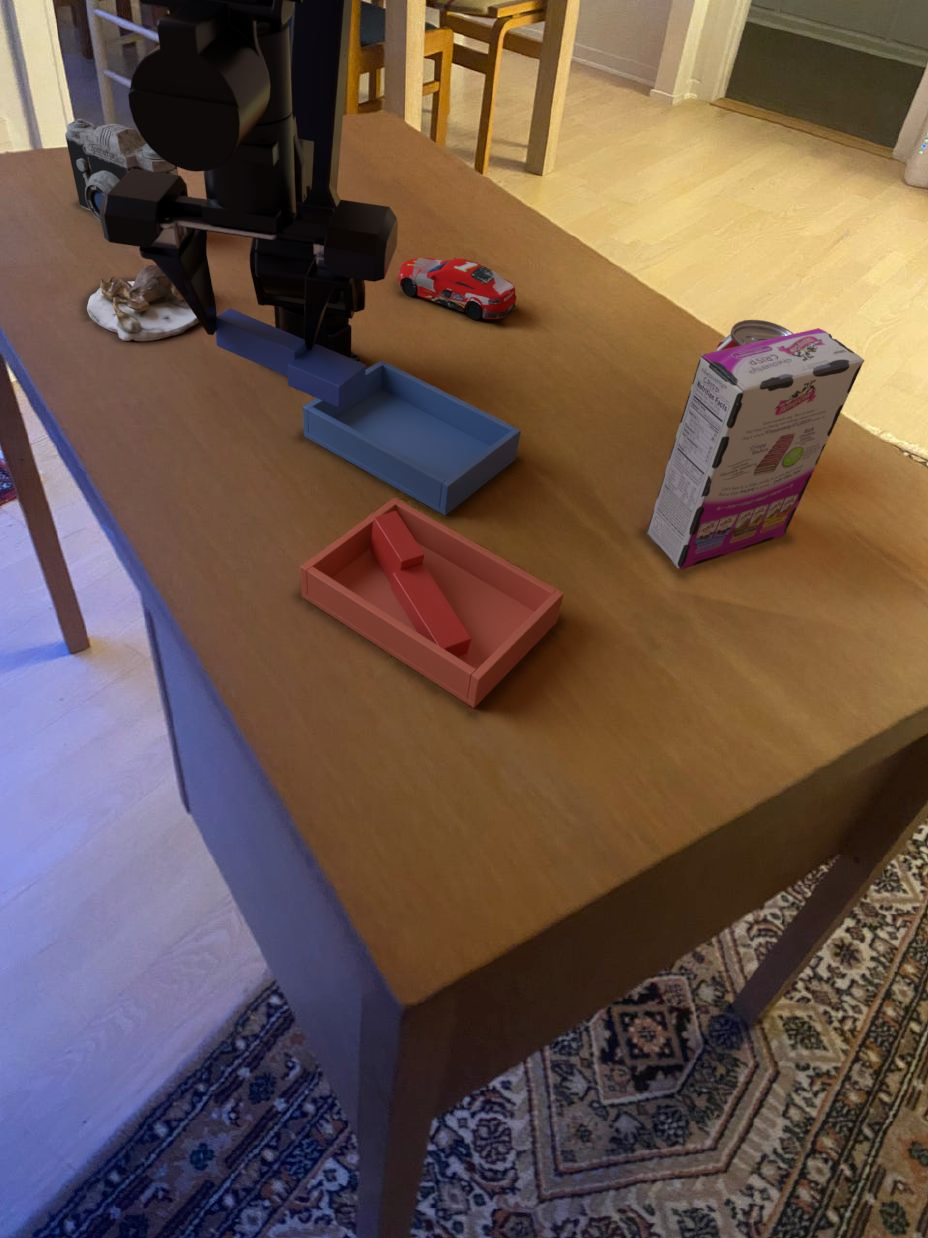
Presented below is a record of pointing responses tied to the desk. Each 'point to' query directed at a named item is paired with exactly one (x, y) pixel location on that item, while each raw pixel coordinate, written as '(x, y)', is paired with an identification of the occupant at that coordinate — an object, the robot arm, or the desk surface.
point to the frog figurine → (141, 307)
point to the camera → (107, 159)
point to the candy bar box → (749, 443)
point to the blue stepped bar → (291, 357)
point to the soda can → (752, 333)
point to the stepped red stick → (416, 585)
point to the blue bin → (414, 437)
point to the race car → (459, 286)
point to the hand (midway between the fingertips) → (261, 339)
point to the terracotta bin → (470, 581)
